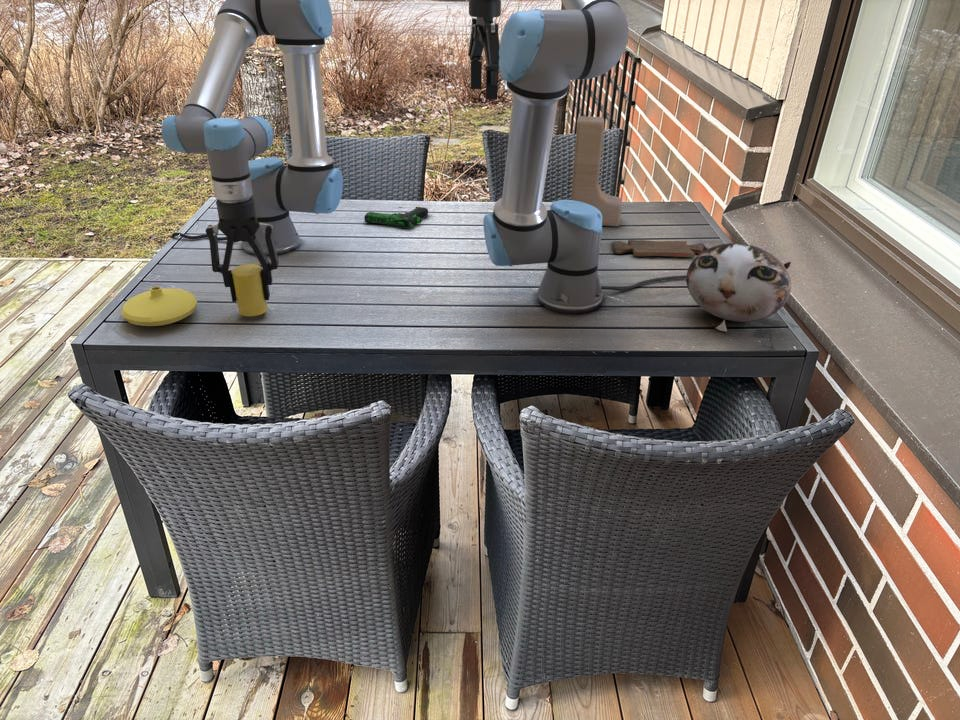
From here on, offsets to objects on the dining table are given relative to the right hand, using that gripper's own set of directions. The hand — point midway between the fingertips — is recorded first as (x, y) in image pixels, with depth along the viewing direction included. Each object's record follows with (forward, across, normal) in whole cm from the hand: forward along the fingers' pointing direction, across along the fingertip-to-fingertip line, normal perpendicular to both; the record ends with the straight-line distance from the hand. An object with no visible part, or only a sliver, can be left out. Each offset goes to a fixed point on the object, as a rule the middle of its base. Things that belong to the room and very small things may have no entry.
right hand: (483, 94), depth 176 cm
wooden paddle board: (+41, +14, +47) cm, 64 cm away
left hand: (+37, +25, -61) cm, 75 cm away
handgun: (+41, -28, -18) cm, 52 cm away
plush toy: (+41, +54, +44) cm, 80 cm away
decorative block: (+41, -12, +39) cm, 58 cm away
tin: (+40, +25, -61) cm, 77 cm away
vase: (+41, +22, -80) cm, 93 cm away
